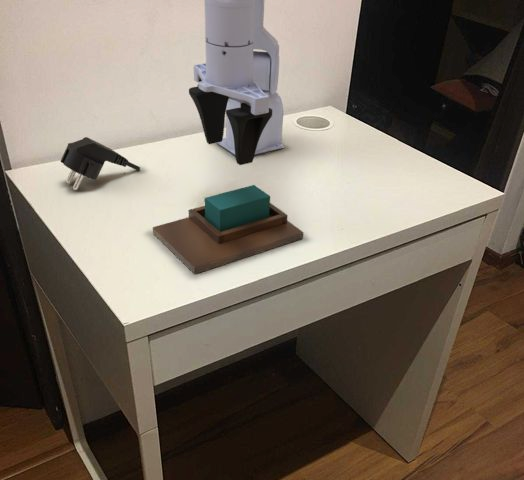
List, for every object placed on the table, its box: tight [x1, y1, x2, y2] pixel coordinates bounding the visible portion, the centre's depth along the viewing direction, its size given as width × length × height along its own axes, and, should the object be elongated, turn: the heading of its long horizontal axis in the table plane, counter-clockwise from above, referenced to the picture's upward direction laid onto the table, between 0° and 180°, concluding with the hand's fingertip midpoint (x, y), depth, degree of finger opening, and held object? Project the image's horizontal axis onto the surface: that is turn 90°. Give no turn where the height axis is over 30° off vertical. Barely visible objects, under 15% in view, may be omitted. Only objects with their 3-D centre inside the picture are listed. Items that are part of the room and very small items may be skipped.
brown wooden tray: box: [152, 202, 304, 275], centre depth 79 cm, size 17×12×2 cm
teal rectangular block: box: [204, 184, 271, 232], centre depth 80 cm, size 8×4×4 cm, turn 124°
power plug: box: [60, 136, 141, 191], centre depth 90 cm, size 6×8×12 cm
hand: (229, 152), depth 78 cm, fingers open, 7 cm apart
